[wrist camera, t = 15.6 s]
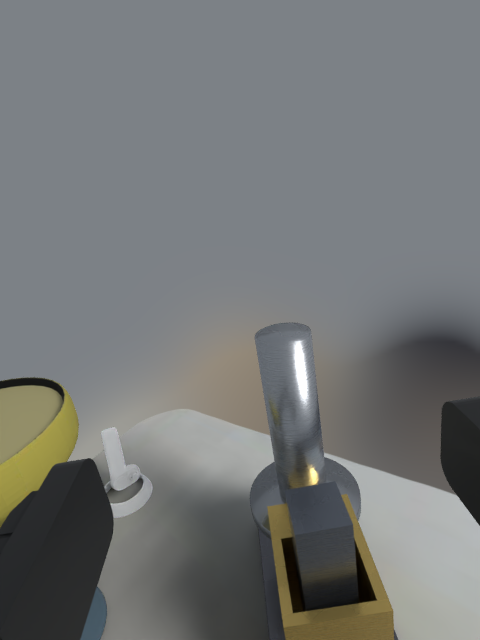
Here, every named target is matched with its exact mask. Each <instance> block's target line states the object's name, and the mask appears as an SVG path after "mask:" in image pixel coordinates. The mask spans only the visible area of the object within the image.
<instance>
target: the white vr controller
mask: <svg viewBox="0 0 480 640" xmlns="http://www.w3.org/2000/svg"><path fill="white" fill-rule="evenodd" d="M101 436H102V441H103V446H104V450H105V455H106V459H107V463H108V468H109V472H110V481H109V482H108V483H107V484H106V485H105V486H104V488H105V491H106V493H107V492H108V491H109V490H110V489H111V488H113V489H115V490H118V491H120V490H123V489H125V488H126V487H128V486H130V485H131V484H133V483H134V482H136V481H137V480H138V479H139V478H141V479H143V486H142V488H141V490H140V491H139V492H138V493H137V494H136V495H135V496H134V497H133V498H131V499H129V500H127V501H125V502H122V503H116V504H114V503H110V505H111V508H112V512H113V518H119V517H124V516H127V515H130V514H132V513H134V512H135V511H137V510H139V509H140V508H141V507H142V506H143V505H144V504H145V503H146V502H147V501H148V500H149V498H150V496H151V494H152V489H153V486H152V483H151V481H150V480H149V479H148V478H147V477H146V476H145V475H143V474H142V473H140V469H139V467H138V466H137V465H135V464H129V465H126V464H125V460H124V456H123V452H122V448H121V443H120V439H119V435H118V432H117V429H116V428H114V427H111V428H107V429H105V430H103V431H102V432H101Z"/></svg>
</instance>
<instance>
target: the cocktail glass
mask: <svg viewBox="0 0 480 640" xmlns="http://www.w3.org/2000/svg"><path fill="white" fill-rule="evenodd" d="M78 426H79V424H78V417H77V413H76V410H75V407H74V404H73V402H72V399H71V397H70V395H69V394H68V392H67V391H66V390H65V389H64V388H63V387H62V385H60V384H59V383H57V382H55V381H53V380H49V379H45V378H17V379H9V380H4V381H0V527H1V526H2V524H3V523H4V521H5V519H6V518H7V516H8V515H9V513H10V512H11V511H12V510H13V509H14V508H15V507H16V506H17V505H18V504H19V503H20V502H21V501H22V500H23V499H24V498H25V497H26V496H27V495H29V494H30V493H31V492H32V491H37V490H39V488H40V486H41V485H42V483H43V481H44V480H45V478H46V476H47V475H48V473H49V471H50V470H51V468H52V467H53V466H54V465H55V464H57V463H63V462H67V460H68V459H69V457H70V455H71V453H72V451H73V449H74V447H75V444H76V441H77V437H78ZM106 616H107V606H106V601H105V597H104V595H103V593H102V591H101V590H100V589H99V588H98V587H96V591H95V594H94V597H93V600H92V604H91V607H90V610H89V613H88V616H87V620H86V623H85V626H84V629H83V632H82V636H81V639H80V640H100V638H101V636H102V633H103V630H104V627H105V623H106Z"/></svg>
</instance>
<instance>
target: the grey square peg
mask: <svg viewBox="0 0 480 640" xmlns="http://www.w3.org/2000/svg"><path fill="white" fill-rule="evenodd" d="M285 497H286V503H287V510H288V516H289V523H290V529H291V536H292V542H293V548H294V555H295V561H296V568H297V574H298V581H299V587H300V594H301V600H302V607H303V612H305V611H311V610H318V609H325V608H331V607H338V606H344V605H351V604H357V603H359V594H358V581H357V568H356V556H355V543H354V530H353V523H352V521H351V518H350V516H349V513H348V511H347V508H346V506H345V504H344V501H343V499H342V496H341V494H340V491H339V489H338V486H337V484H336V481H334V482H328V483H322V484H317V485H311V486H305V487H300V488H294V489H289V490H285Z"/></svg>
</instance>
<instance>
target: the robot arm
mask: <svg viewBox="0 0 480 640" xmlns="http://www.w3.org/2000/svg"><path fill="white" fill-rule="evenodd" d="M441 464H442V468H443V471H444V474H445V476H446V479H447V481H448V482H449V485H450V486H451V488H452V489H453V490H454V492H455V493H456V494H457V496H458V497H459V498H460V500H461V501H462V502H463V504H464V505H465V507H466V508H467V509H468V511H469V512H470V513H471V515H472V516H473V517H474V519H475V520H476V521H477V523H478V524H479V525H480V397H474V398H468V399H461V400H455V401H450V402H446V403H445V404H444V405H443V408H442V423H441ZM112 534H113V512H112V508H111V505H110V502H109V499H108V497H107V494H106V491H105V488H104V486H103V483H102V480H101V477H100V475H99V472H98V469H97V466H96V464H95V462H94V461H93V460H92V459H90V458H88V459H82V460H76V461H70V462H63V463H57V464H55V465H54V466H53V467H52V468H51V470H50V471H49V473H48V475H47V476H46V478H45V480H44V481H43V483H42V485H41V486H40V488H39V490H37V491H32V492H31V493H30V494H29V495H27V496H26V497H25V498H24V499H23V500H22V501H21V502H20V503H19V504H18V505H17V506H16V507H15V508H14V509H13V510H12V511H11V512H10V513H9V515H8V516H7V518H6V519H5V521H4V523H3V524H2V526H1V527H0V640H80V639H81V636H82V632H83V629H84V626H85V623H86V620H87V616H88V613H89V610H90V607H91V604H92V600H93V597H94V594H95V591H96V587H97V584H98V581H99V578H100V575H101V571H102V568H103V565H104V562H105V558H106V555H107V552H108V549H109V546H110V542H111V539H112Z"/></svg>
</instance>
